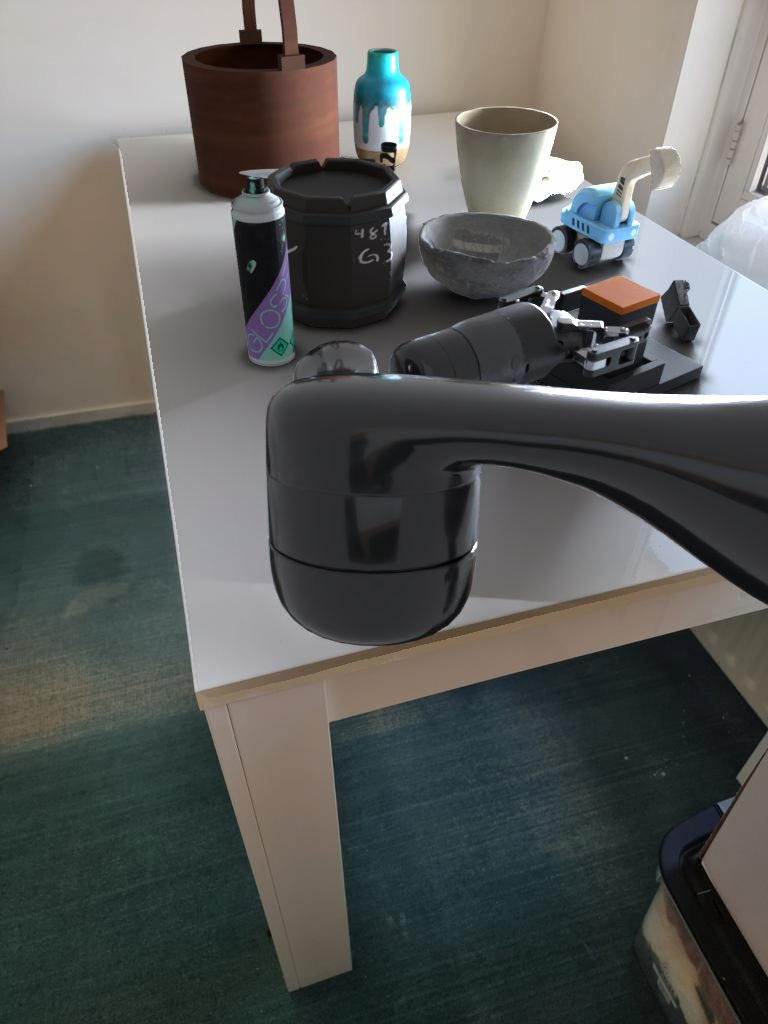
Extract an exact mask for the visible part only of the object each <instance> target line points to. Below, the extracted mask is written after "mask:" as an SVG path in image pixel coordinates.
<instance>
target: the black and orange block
mask: <svg viewBox="0 0 768 1024" xmlns="http://www.w3.org/2000/svg"><path fill="white" fill-rule="evenodd" d="M585 286H586V287H583V289H582V297H581V302H580V307H579V309H578V312H577V317H576V318H577V319H580V320H589V321H602V322H603V324H604V325H605V326H619V327H621V326H622V325H623V324H626V323H629V322H632V321H634V320H637V319H640V318H643V317H647V318H649V319H651V320H652V323H653V322H654V318H655V315H656V311H657V307H658V304H659V302H660V300H661V298H660V297H661V296H662V295H661V294H660V293H658V292H656V291H654V290H652V289H650V288H648V287H645V286H644V285H641V284H639V283H637V282H635V281H633V280H631V279H628V278H627V277H625V276H622V275H617V276H614V277H610V278H608V279H605V280H600V281H598V282H595V283H592V284H590V285H585ZM593 335H594V332H593V331H587V335H586V340H585V343H584V346H583V348H587V347H589V346H591V344H592V339H593ZM612 341H614V337H613V336H606V337H604V339H603V343H602V344H606V343H609V342H612ZM647 341H648V340H647ZM647 341H645V342H642V343H639V344H638V346H637V349H636V353H635V357H634V358H635V359H634V363H633V364H631V365H629V366H626V367H623V368H620V369H617V370H614V371H611V372H608V373H605V374H602V376H604V377H606V378H607V379H611V378H613V377H616V376H618V375H620V374H623V373H625V372H628V371H630V370H633V369H635V368H638V367H640V366H641V363H642V359H643V355H644V352H645V348H646V344H647Z"/></svg>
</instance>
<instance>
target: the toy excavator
mask: <svg viewBox="0 0 768 1024" xmlns="http://www.w3.org/2000/svg"><path fill="white" fill-rule="evenodd" d="M681 172H682V160H681V156H680V153H679V151H678V150H677V149H676V148H675V147H674V146H671V145H665V146H658V147H654V148H653V147H652V148H650V149H649V154H648V155H645V156H641V157H638V158H634V159H631V160H629V161H627V162H626V163H624V164H623V166H622V168H621V170H620V172H619V175H618V177H617V180H616V182H610V183H602V184H597V185H590V186H585V187H583V188H581V189H580V190H579V191H578V192H577V193H576V194H575V196H574V197H573V199H572V202H571V203H570V204H568V205H567V206H565V207H564V208H562V210H561V213H560V218H559V221H560V223H562V224H561V225H557V226H554V227H553V228H552V229H551V231H552V233H553V234H554V235H555V237H556V246H555V252H554V253H558V254H560V255H566V254H569V253H571V257H572V259H573V263H574V264H576V263H577V265H578V266H577V268H578V269H586V268H591V267H595V266H596V265H598V264H599V263H600V262H602V261H608V260H613V259H614V261H621V260H624V259H628V258H629V257H631V255H632V254H633V252H634V247H635V244H636V238H637V237H638V234H639V229H640V226H641V224H640V223H639V222H638V221H637V220H635V215H636V204H635V202H634V201H633V200H632V199H633V194H634V189H635V185H636V183H637V182H638V181H640V180H642V179H643V178H645V177H648V176H650V179H651V180H650V184H651V185H650V191H652V192H654V191H660V190H661V191H662V190H666V189H670V188H672V187H673V186H675V184H676V183H677V182H678V181H679V178H680V175H681Z"/></svg>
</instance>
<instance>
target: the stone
mask: <svg viewBox="0 0 768 1024" xmlns="http://www.w3.org/2000/svg"><path fill="white" fill-rule="evenodd" d="M584 180H585V175H584V173H583V165H582V164H581V162H579V161H570V160H565V159H562V158H560V157H556V156H555V157H554V156H552V155H549V158H548V161H547V164H546V167H545V170H544V173H543V176H542V179H541V182H540V184H539V187H538V189H537V192H536V194H535V197H534V199H533V201H532V202H536V203H540V202H543V201H544V200H545V199H547V198H548V197H551V196H555V195H556V194H557V195H559V194H562V195H567V194H566V193H569V192H570V193H573V192H574V191H575V190H576V189H577V188H578V187H579V185H580V184H582V182H583V183H584ZM573 190H574V191H573ZM570 193H569V194H570ZM552 194H554V195H552ZM550 195H551V196H550Z"/></svg>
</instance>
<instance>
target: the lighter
mask: <svg viewBox="0 0 768 1024" xmlns="http://www.w3.org/2000/svg"><path fill="white" fill-rule="evenodd" d="M690 290H691V286H690V283H689V282H688V281H687V280H686V279H676V280H675V279H674V280H673V281H672V282H671V283H670V285H669V287H668V288H667V290H665V291H664V293H663V294H662V295H661V296H660V302H661V307H662V311H663V316H664V320H665V323H672V324H673V328H674V331H675V332H676V334H677V336H678V337H679V339H680V340H681V341H683V342H687V341H689V342H691V341H692V342H693V341H694V340H696V336H697V335H698V333H699V330H700V328H701V325H702V324H701V322H700V321H699V319H698V318H697V316H696V314H695V313H694V310H693V309H692V308H691V306H690V300H689V295H688V293H689V291H690Z"/></svg>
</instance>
